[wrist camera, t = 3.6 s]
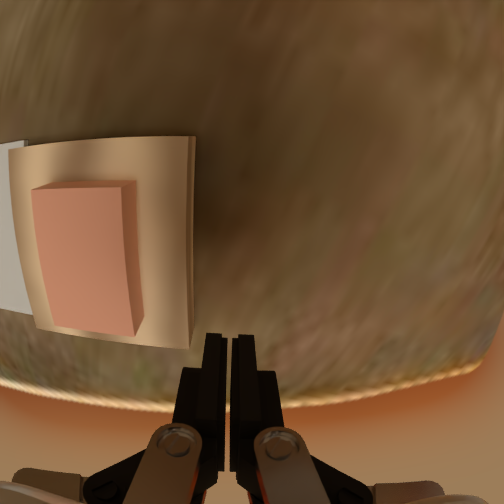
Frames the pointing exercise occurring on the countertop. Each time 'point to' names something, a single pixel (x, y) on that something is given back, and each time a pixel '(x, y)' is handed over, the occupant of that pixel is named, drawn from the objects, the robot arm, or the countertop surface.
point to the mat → (10, 243)
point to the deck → (148, 224)
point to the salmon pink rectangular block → (90, 254)
